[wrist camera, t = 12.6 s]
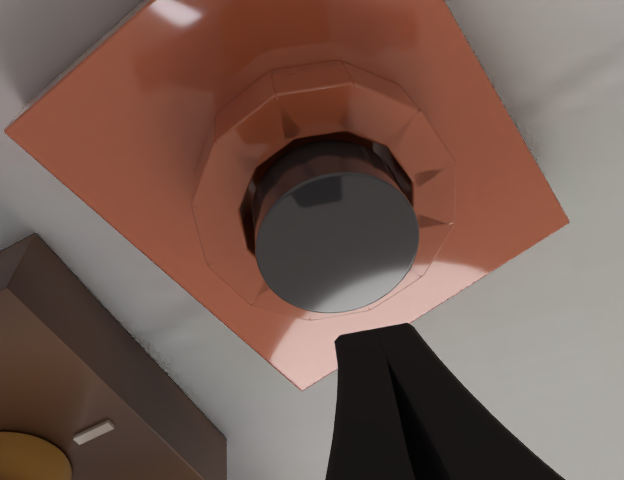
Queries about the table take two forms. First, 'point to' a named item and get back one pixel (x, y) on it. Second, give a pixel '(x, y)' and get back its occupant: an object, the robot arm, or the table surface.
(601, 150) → the table surface
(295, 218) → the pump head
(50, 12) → the table surface
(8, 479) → the dial
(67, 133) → the button base
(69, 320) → the dial panel
